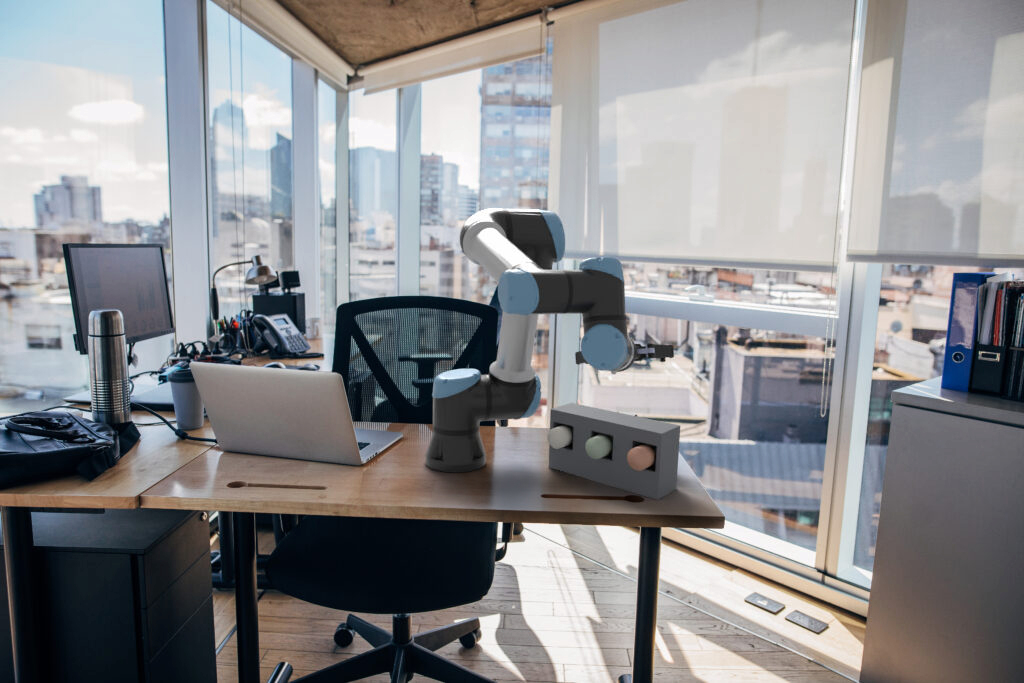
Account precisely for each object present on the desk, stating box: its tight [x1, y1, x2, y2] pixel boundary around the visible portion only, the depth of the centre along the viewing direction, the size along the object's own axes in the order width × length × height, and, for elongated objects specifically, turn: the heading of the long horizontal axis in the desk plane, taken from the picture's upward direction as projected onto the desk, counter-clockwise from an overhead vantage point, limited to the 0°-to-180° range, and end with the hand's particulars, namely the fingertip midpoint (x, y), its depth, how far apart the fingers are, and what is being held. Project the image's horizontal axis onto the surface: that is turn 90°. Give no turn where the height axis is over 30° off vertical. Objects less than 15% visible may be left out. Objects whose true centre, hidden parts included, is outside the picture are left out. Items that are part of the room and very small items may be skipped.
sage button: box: [585, 434, 613, 459], centre depth 151 cm, size 4×5×5 cm
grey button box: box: [548, 402, 681, 501], centre depth 155 cm, size 9×30×15 cm, turn 50°
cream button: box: [546, 425, 573, 449], centre depth 158 cm, size 4×5×5 cm
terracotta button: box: [627, 444, 656, 471], centre depth 144 cm, size 4×5×5 cm
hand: (628, 356), depth 143 cm, fingers open, 13 cm apart
